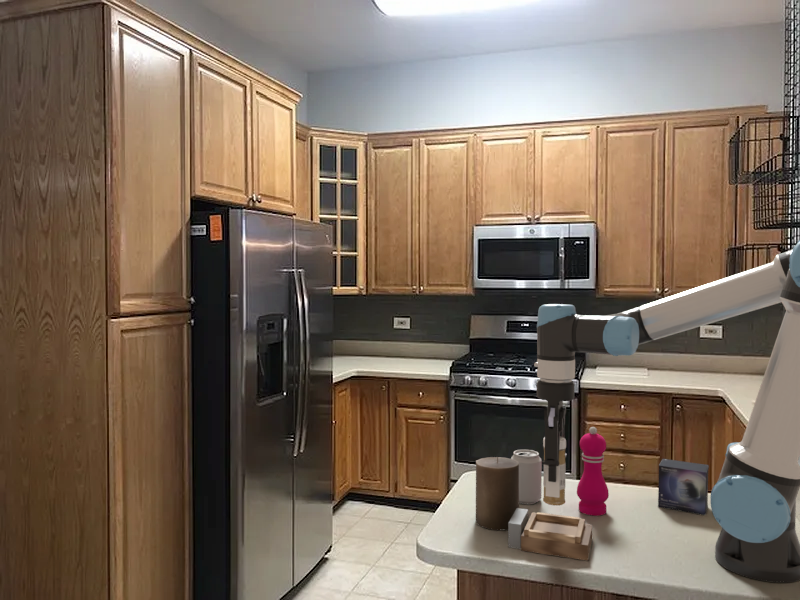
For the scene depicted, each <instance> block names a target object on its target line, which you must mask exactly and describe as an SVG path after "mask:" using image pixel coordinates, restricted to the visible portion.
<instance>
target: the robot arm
mask: <svg viewBox="0 0 800 600" xmlns="http://www.w3.org/2000/svg"><path fill="white" fill-rule="evenodd" d="M780 303H782V305H783V307H784V309H785V313H784V316H783V319H782V321H781V325H780V328H779V330H778V334H777V337H776V339H775V342H774V346H773V347H772V351H771V355H770V358H769V360H768V363H767V366H766V369H765V372H764V374H763V378H762V380H761V384H760V386H759V387H760V388H759V389H758V392H757V395H756V399H755V402H754V404H753V407H752V410H751V413H750V416H749V420H748V422H747V425H746V429H745V431H744V433H743V436H742V440H741V441H740V442H737V441H735V442H730V443H728V445H727V447H726V453H725V459H724V461H723V465H722V467H721V470H720V473H719V477H718V479H717V482H716V483H715V485H713V487H712V489H711V491H710V510H711V512H712V513H711V514H712V515H713V517H714V519H715V521H716V522H717V523H718V524H719V526H720V527H721V530H720V532H719V535H718V538H717V540H716V542H715V546H714V557H715V560H716V561H717V563H718V564H720V566H722V567H723V568H725V569H727V570H728V571H730V572H733V574H734V573H735V574H737V575H740V576H743V577H746V578H749V579H753V580H756V581H763V582H769V583H793V582H799V581H800V540H799V537H798V534H797V530H796V514H797V512H796V511H797V510H796V508H797V497H798V494H799V492H800V464H799V459H800V239H799V240H798V241H797V243H796V244H795V245H794V246H793V248H792V249H790V250H787V251H785V252H782V253H778V254H776V255H775V257H774V259H773V260H772V261H771V262H768V263H765V264H762V265H760V266H756V267H754V268H751V269H747V270H745V271H741V272H739V273H735V274H733V275H730V276H727V277H723V278H721V279H718V280H715V281H712V282H711V281H710V282H708V283H706V284H703V285H700V286H697V287H694V288H693V287H692V288H691V289H688V290H684V291H681V292H679V293H676V294H673V295H670V296H669V295H668V296H667V297H664V298H660V299H658V300H655V301H651V302H649V303H645V304H642V305H640V306H638V307H637V306H636V307H634V308H631V309H628V310H624V311H622V312H621V311H620V312H618V313H613V314H607V315H590V314H589V315H586V314H585V315H583V314H577V311H576V307H575V305H573V304H563V303H561V304H560V303H548V304H542V305H541V306H539V308H538V313H537V324H536V334H537V336H536V337H537V342H536V345H537V347H536V349H537V352H536V353H537V354H536V357H537V360H536V362H534V364H533V365H534V367H535V368H537V370H536V371H537V372H536V375H537V376H536V377H538V378H539V379H538V380H537V381H536V397H537V398H538V399H539V400H542V401H546V402H547V405H546V406H545V407H544V411H543V415H544V418H543V421H544V437H545V460H544V459H543V461H542V465H543V466H544V465H546V496H549V497H557V498H559V497H560V465H559V447H560V437H563V438H565V425H566V414H567V407H566V404H564V403H563V402H570V401H573V400H574V399H575V382H574V380H575V378H576V356H575V355H576V353H580V354H581V353H585V354H586V353H587V354H600V355H610V356H613V357H618V356H633V355H634V354H635V353H636V352H637V349H638V347H639V345H642V344H646V343H649V342H652V341H656V340H660V339H662V338H666V337H669V336H672V335H676V334H678V333H679V334H680V333H683V332H686V331H690V330H692V329H696V328H699V327H701V326H702V327H703V326H705V325H709V324H713V323H716V322H719V321H723V320H726V319H727V320H728V319H730V318H733V317H737V316H739V315H744V314H748V313H749V312H754V311H757V310H760V309H763V308H767V307H770V306H773V305H777V304H780ZM567 455H568V454H567V453H566V452H565V458H567Z"/></svg>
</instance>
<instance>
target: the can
mask: <svg viewBox="0 0 800 600" xmlns="http://www.w3.org/2000/svg"><path fill="white" fill-rule="evenodd" d="M510 459H513V460H515V461H517V462H518V463H519V504H521V503H523V504H522V505H534V504H537V503H538V502H539V501H540V500H541V499H542V477H543V476H542V474H543V470H542V469H543V468H542V465H543V464H542V458H541V457H540V453H539V452H538V451H535V450H533V449H517V450H514V451H513V455H511V458H510ZM536 502H537V503H536ZM533 503H534V504H533Z"/></svg>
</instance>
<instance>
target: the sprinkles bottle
mask: <svg viewBox="0 0 800 600" xmlns="http://www.w3.org/2000/svg"><path fill="white" fill-rule="evenodd" d="M542 443H543V444H542V447H543V461H544V460H545V436H544V437H543V440H542ZM566 448H567V440H566V438H565V437H564V438H563V437H560V447H559V465H560V497H559V498H557V497H549V496H546V465H543V482H542V483H543V485H542V486H543V498H542V500H543V502H544V503H545V504H547V505H550V506H562V505H565V503H566V499H565V498H566V494H565V493H566V473H567V472H566V469H567V468H566V466H567V465H566V464H567V463H566V457H565V453H566Z"/></svg>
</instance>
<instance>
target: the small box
mask: <svg viewBox="0 0 800 600" xmlns="http://www.w3.org/2000/svg"><path fill="white" fill-rule="evenodd" d="M709 467H710V466H709V464H703V463H696V462H689V461H682V460H675V459H668V458H662V459H661V460H660V462H659V464H658V491H657V492H658V494H657V495H658V496H657V499H658V501H657V502H658V503H657V508H662V509H667V510H674V511H678V512H684V513H691V514H696V515H700V514H701V516H706V515H707V512H708V510H709V509H708V508H709V504H708V502H709V501H708V499H709V495H708V494H709V493H708V492H709Z"/></svg>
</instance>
